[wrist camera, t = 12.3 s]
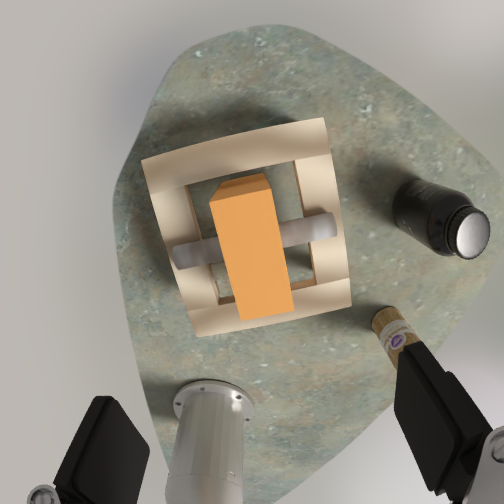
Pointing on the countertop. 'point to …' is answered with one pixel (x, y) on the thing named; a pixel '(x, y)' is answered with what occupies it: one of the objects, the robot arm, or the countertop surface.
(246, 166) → the wooden frame stool
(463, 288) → the countertop surface
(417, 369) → the robot arm
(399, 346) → the sprinkles bottle
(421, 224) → the supplement bottle
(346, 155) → the countertop surface
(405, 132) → the countertop surface
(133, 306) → the countertop surface
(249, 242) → the orange block
